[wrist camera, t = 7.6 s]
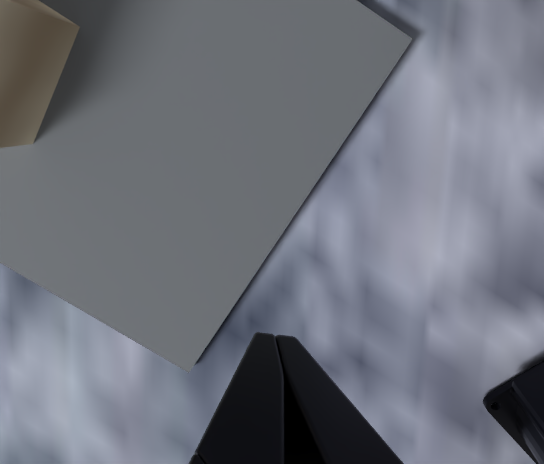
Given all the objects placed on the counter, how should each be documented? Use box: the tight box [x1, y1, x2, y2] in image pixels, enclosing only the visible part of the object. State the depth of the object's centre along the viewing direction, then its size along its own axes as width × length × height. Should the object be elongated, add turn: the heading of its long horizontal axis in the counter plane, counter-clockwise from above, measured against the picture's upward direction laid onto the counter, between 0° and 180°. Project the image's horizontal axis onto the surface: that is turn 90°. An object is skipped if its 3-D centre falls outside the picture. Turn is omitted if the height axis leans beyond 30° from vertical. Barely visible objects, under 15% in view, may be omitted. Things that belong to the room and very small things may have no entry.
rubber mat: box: [0, 0, 412, 373], centre depth 19 cm, size 26×20×1 cm
